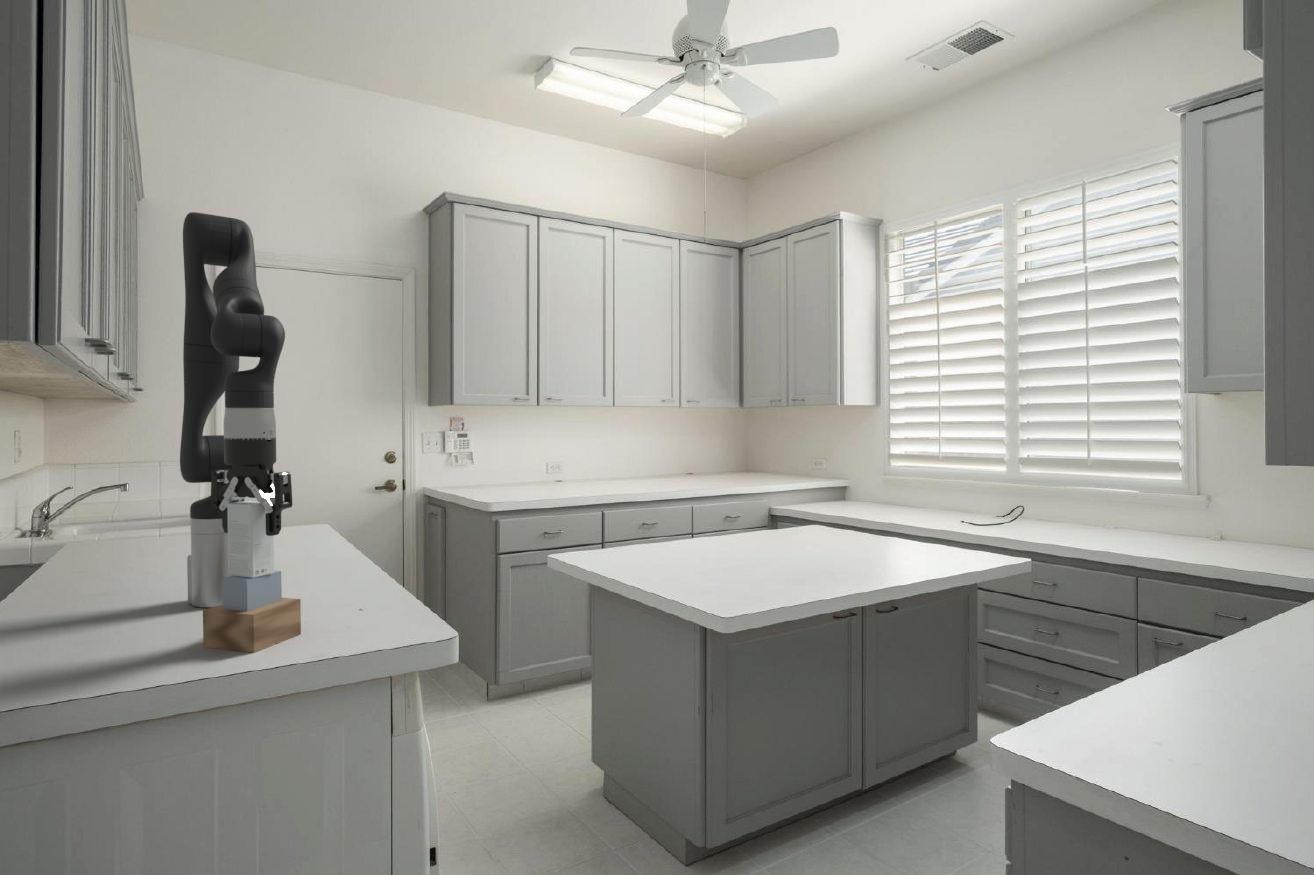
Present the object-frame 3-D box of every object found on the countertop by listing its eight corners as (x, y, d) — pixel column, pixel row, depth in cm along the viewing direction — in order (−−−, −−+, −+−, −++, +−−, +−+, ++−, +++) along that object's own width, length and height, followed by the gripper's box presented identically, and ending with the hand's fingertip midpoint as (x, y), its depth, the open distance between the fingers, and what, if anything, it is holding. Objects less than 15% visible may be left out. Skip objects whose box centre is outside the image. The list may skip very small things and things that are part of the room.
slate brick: (222, 608, 117) (222, 578, 117) (258, 598, 124) (257, 569, 124) (247, 611, 116) (247, 580, 116) (281, 600, 123) (281, 571, 123)
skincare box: (275, 573, 121) (274, 502, 120) (252, 578, 117) (250, 504, 116) (250, 570, 123) (249, 500, 123) (226, 575, 119) (225, 502, 119)
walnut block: (203, 647, 117) (202, 610, 117) (253, 629, 126) (252, 595, 126) (254, 652, 114) (253, 614, 114) (300, 633, 124) (300, 599, 124)
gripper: (195, 436, 117) (197, 535, 118) (268, 436, 114) (269, 539, 114) (234, 434, 125) (235, 528, 125) (303, 435, 121) (304, 532, 121)
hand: (251, 533), depth 120 cm, fingers open, 8 cm apart
